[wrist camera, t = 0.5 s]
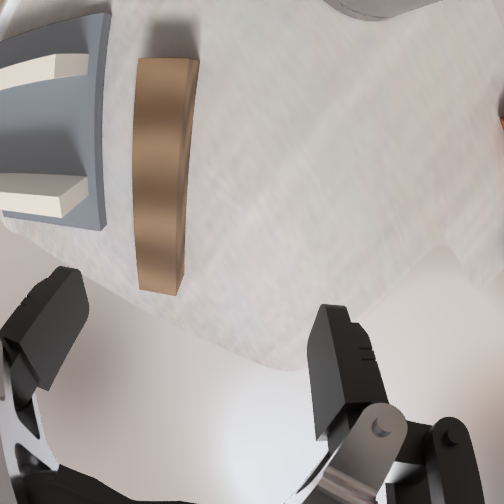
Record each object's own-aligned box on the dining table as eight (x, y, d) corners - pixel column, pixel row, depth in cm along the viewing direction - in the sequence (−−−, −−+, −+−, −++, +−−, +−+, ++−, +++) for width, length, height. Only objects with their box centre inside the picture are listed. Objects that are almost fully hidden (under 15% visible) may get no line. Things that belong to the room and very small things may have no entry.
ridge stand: (1, 44, 17) (-38, 49, 12) (111, 14, 18) (72, 4, 12) (10, 211, 29) (-20, 236, 23) (106, 224, 30) (77, 257, 24)
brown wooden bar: (156, 60, 21) (138, 58, 18) (200, 61, 21) (188, 58, 18) (151, 266, 33) (139, 289, 29) (184, 272, 33) (176, 296, 30)
